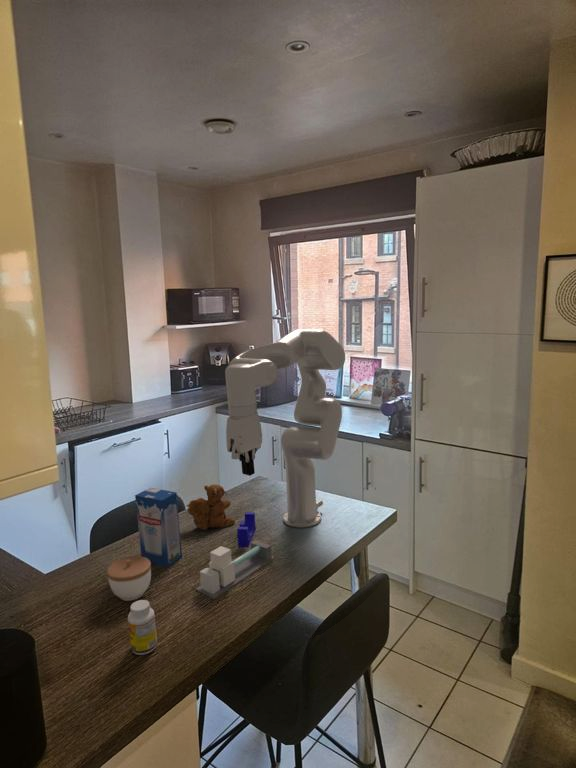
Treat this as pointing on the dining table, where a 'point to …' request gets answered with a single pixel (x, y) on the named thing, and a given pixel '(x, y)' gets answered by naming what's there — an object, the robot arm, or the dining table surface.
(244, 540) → the blue curved block
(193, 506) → the stuffed squirrel
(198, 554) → the dining table surface
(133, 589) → the lidded jar
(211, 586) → the threaded rod slide
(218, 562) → the sleeve
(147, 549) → the milk carton
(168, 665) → the dining table surface
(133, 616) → the supplement bottle
